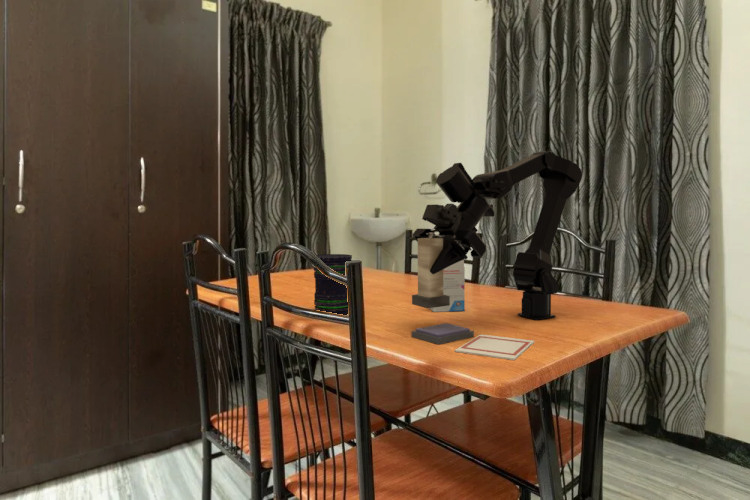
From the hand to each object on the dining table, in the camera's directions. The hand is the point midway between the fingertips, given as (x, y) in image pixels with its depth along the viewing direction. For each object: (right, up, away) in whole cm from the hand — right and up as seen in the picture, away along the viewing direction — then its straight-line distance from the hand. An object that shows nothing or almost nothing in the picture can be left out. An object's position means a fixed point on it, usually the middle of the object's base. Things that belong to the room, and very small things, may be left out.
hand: (425, 271), depth 105 cm
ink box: (+8, -12, +28) cm, 32 cm away
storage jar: (-21, -12, +25) cm, 34 cm away
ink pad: (+3, -13, -1) cm, 14 cm away
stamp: (+1, -7, +1) cm, 7 cm away
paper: (+13, -14, -9) cm, 21 cm away
